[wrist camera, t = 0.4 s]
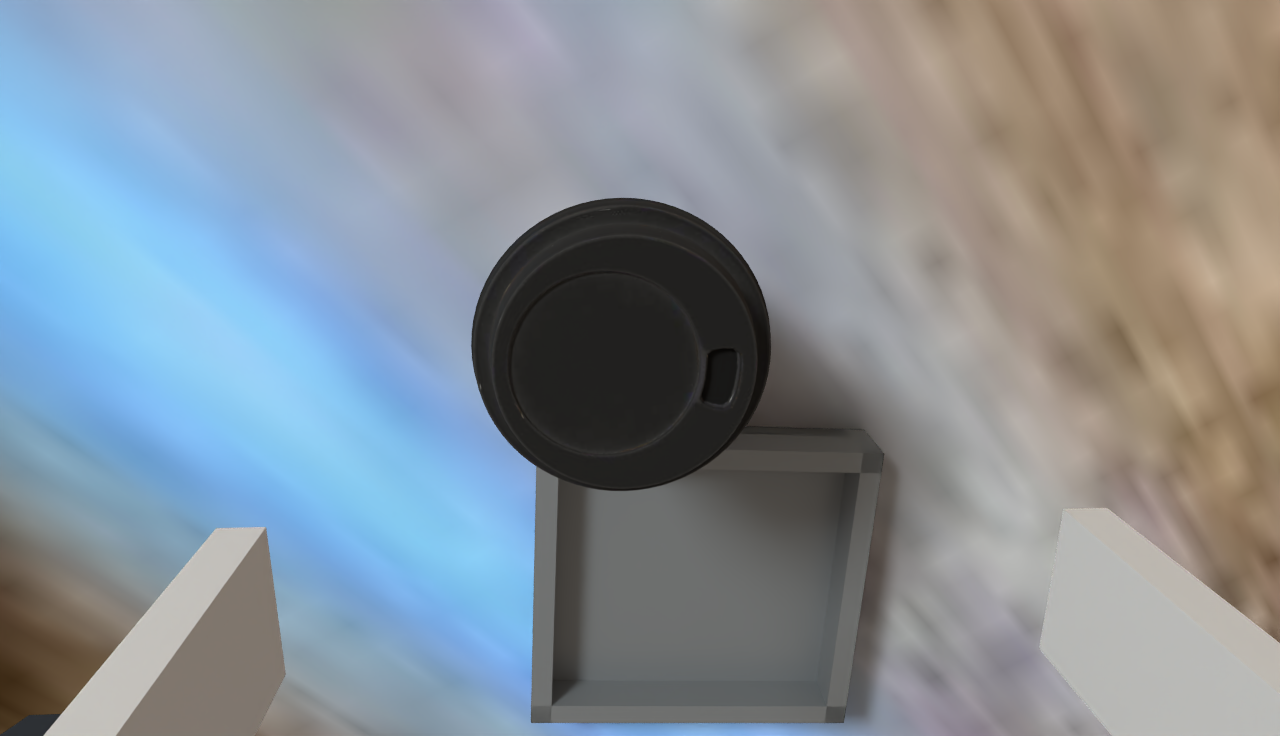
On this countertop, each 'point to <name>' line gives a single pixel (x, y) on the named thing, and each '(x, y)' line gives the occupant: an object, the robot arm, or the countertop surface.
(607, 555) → the tray
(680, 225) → the coffee cup
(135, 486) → the countertop surface
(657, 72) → the countertop surface
